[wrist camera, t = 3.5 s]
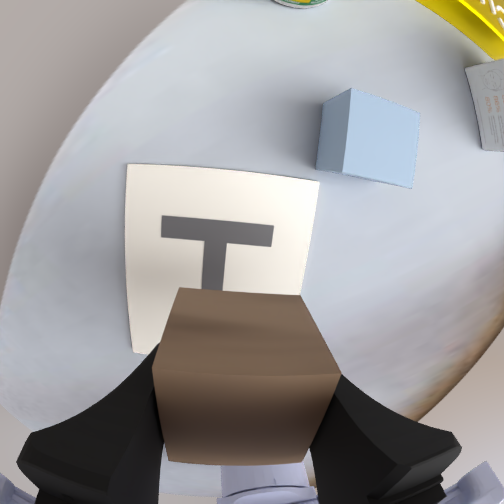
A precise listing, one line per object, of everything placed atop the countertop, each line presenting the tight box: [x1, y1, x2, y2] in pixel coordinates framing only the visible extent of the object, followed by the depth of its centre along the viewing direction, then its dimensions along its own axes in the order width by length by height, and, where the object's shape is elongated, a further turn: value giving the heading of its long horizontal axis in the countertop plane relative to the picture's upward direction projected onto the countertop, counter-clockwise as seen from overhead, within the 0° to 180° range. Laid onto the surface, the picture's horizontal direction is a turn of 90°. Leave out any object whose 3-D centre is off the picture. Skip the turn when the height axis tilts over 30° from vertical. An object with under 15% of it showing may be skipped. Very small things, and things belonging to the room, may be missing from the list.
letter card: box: [125, 164, 320, 355], centre depth 18 cm, size 14×12×1 cm
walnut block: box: [152, 287, 341, 466], centre depth 10 cm, size 5×5×5 cm
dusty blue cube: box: [316, 88, 420, 189], centre depth 15 cm, size 4×4×4 cm
